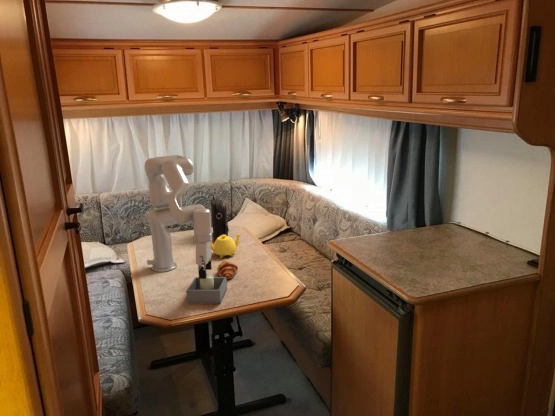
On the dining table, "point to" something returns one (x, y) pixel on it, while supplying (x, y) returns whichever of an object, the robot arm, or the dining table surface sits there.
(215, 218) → the shoulder bag
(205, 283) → the pale green rounded block
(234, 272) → the croissant
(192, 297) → the bin
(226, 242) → the teapot
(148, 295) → the dining table surface
